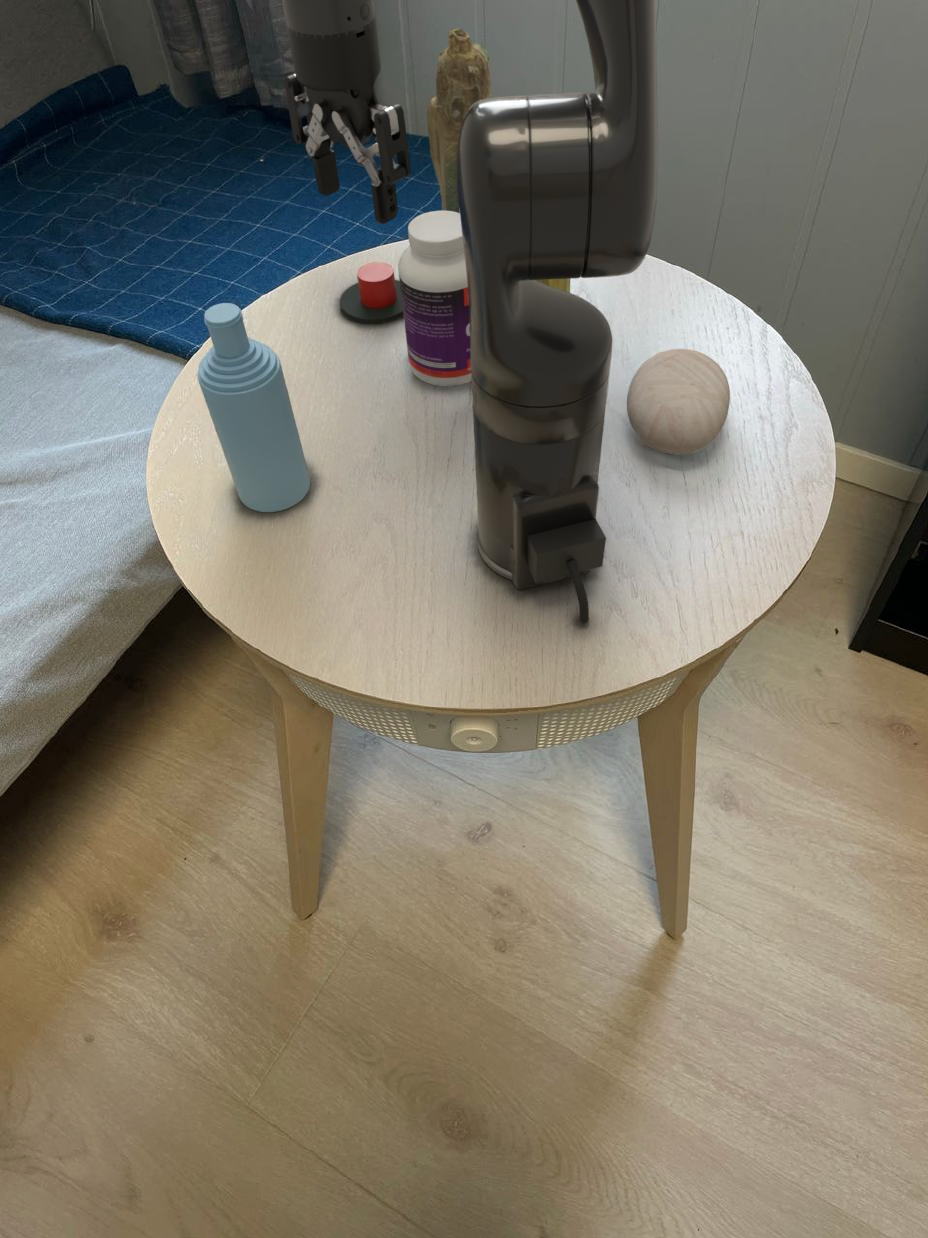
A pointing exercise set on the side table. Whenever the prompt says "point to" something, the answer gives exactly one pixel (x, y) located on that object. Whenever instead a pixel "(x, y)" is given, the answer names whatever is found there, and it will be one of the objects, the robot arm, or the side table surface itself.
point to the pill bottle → (436, 299)
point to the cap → (377, 284)
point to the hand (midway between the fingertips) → (357, 205)
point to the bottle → (252, 414)
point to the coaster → (367, 315)
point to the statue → (454, 107)
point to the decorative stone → (678, 401)
